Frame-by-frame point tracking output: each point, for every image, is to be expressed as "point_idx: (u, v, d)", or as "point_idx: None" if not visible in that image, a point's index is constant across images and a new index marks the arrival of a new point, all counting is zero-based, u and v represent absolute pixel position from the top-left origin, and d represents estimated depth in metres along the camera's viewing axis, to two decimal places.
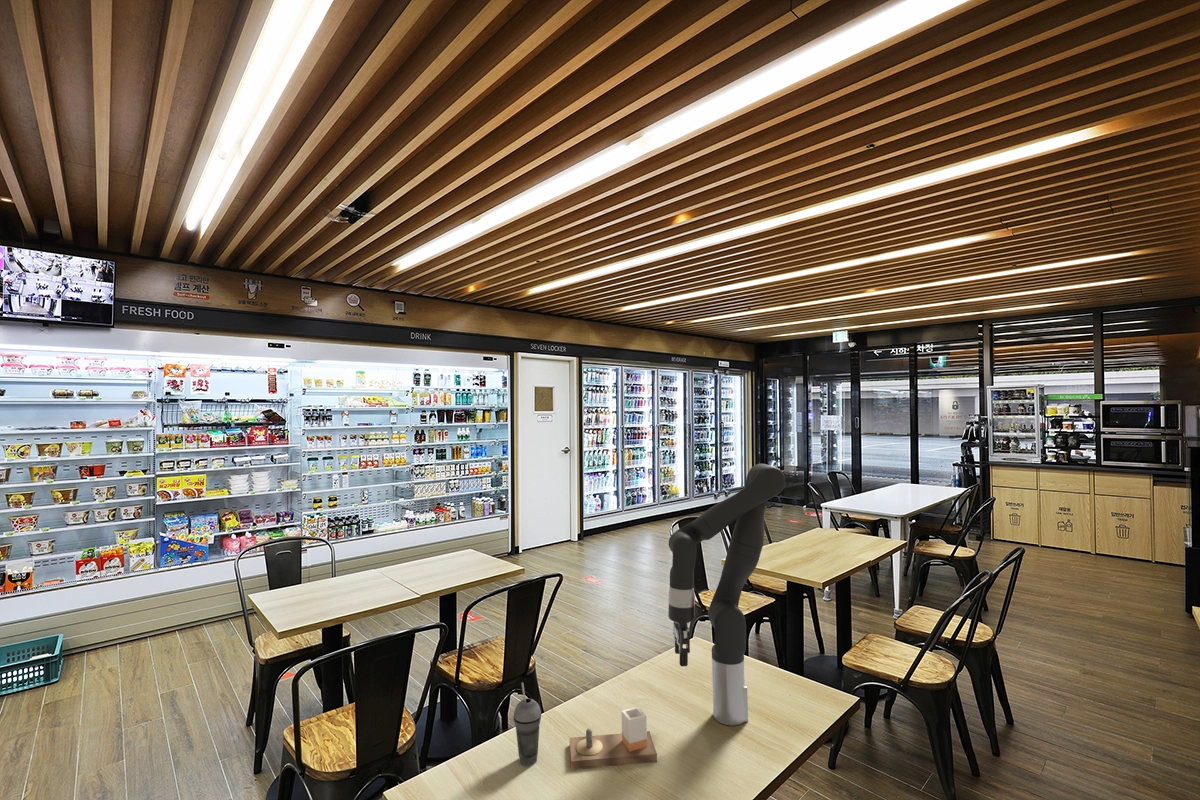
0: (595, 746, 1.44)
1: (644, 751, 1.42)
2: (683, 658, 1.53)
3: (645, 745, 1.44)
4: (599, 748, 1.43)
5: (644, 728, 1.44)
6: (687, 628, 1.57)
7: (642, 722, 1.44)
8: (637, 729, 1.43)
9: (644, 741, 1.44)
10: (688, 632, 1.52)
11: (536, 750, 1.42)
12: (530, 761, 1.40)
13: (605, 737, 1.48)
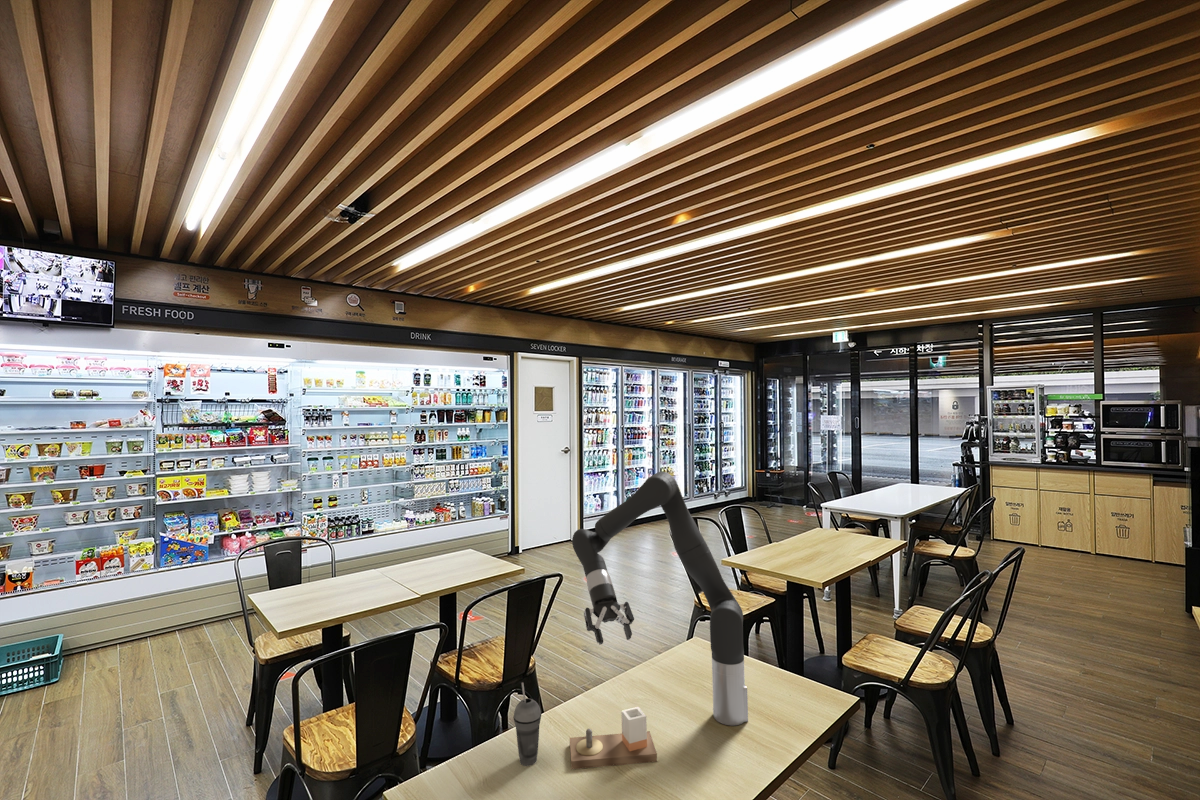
0: (595, 746, 1.44)
1: (644, 751, 1.42)
2: (595, 635, 1.56)
3: (645, 745, 1.44)
4: (599, 748, 1.43)
5: (644, 728, 1.44)
6: (602, 608, 1.61)
7: (642, 722, 1.44)
8: (637, 729, 1.43)
9: (644, 741, 1.44)
10: (585, 609, 1.60)
11: (536, 750, 1.42)
12: (530, 761, 1.40)
13: (605, 737, 1.48)
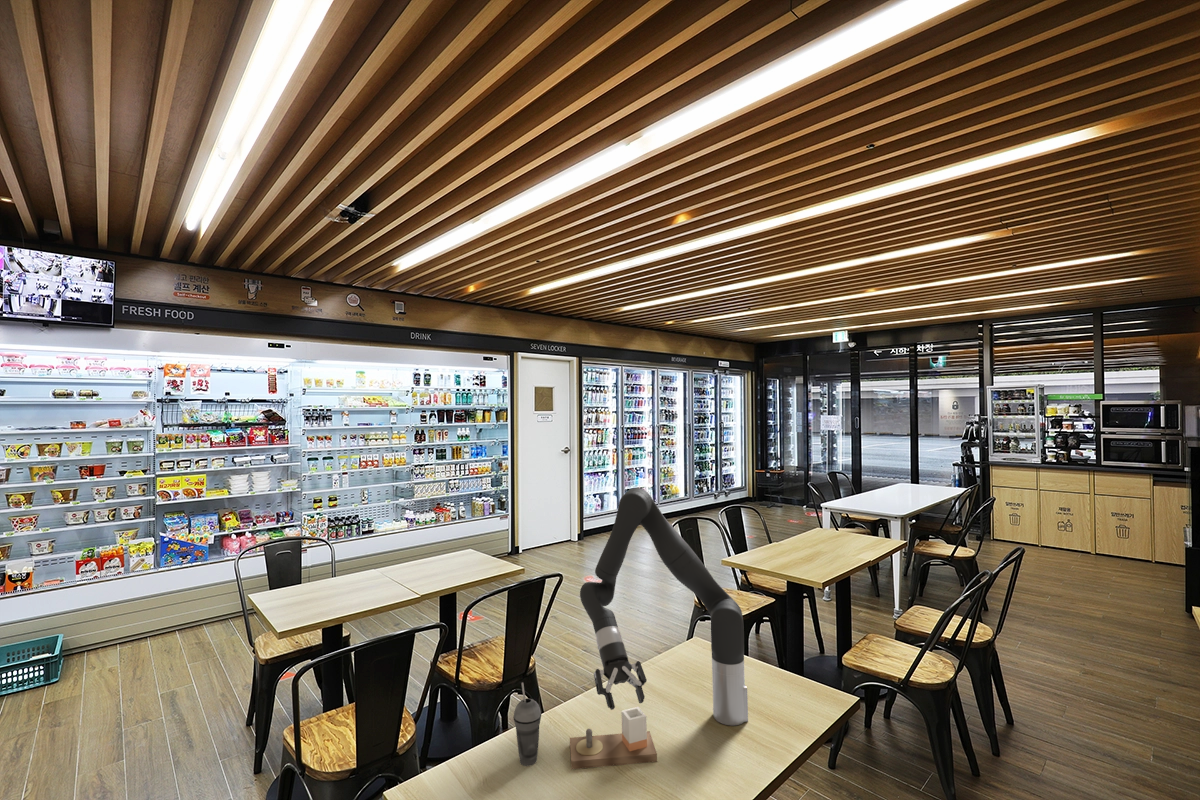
0: (595, 746, 1.44)
1: (644, 751, 1.42)
2: (606, 700, 1.49)
3: (645, 745, 1.44)
4: (599, 748, 1.43)
5: (644, 728, 1.44)
6: (613, 669, 1.54)
7: (642, 722, 1.44)
8: (637, 729, 1.43)
9: (644, 741, 1.44)
10: None
11: (536, 750, 1.42)
12: (530, 761, 1.40)
13: (605, 737, 1.48)
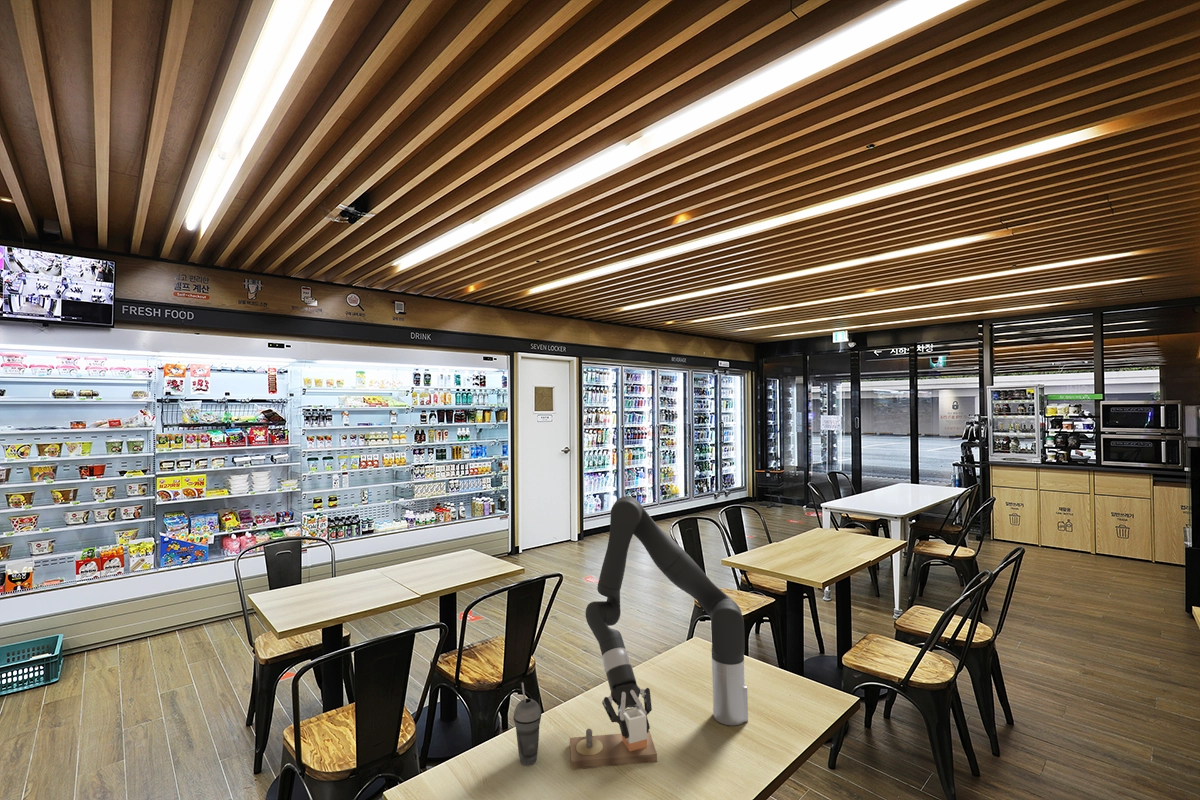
0: (595, 746, 1.44)
1: (644, 751, 1.42)
2: (620, 728, 1.44)
3: (645, 745, 1.44)
4: (599, 748, 1.43)
5: (644, 728, 1.44)
6: (621, 694, 1.49)
7: (642, 722, 1.44)
8: (637, 729, 1.43)
9: (644, 741, 1.44)
10: (604, 699, 1.47)
11: (536, 750, 1.42)
12: (530, 761, 1.40)
13: (605, 737, 1.48)
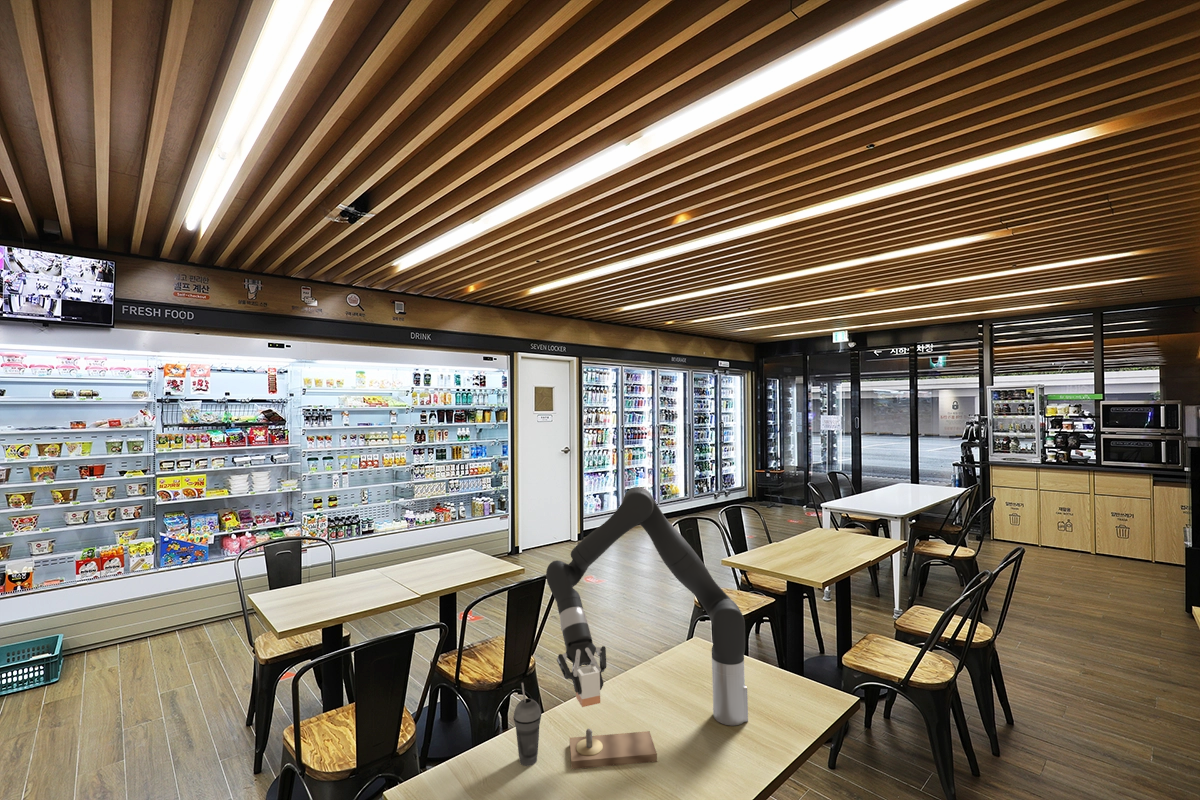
0: (595, 746, 1.44)
1: (644, 751, 1.42)
2: (574, 684, 1.43)
3: (598, 701, 1.43)
4: (599, 748, 1.43)
5: (597, 684, 1.43)
6: (575, 651, 1.48)
7: (595, 678, 1.43)
8: (590, 685, 1.42)
9: (597, 697, 1.43)
10: (558, 656, 1.46)
11: (536, 750, 1.42)
12: (530, 761, 1.40)
13: (605, 737, 1.48)
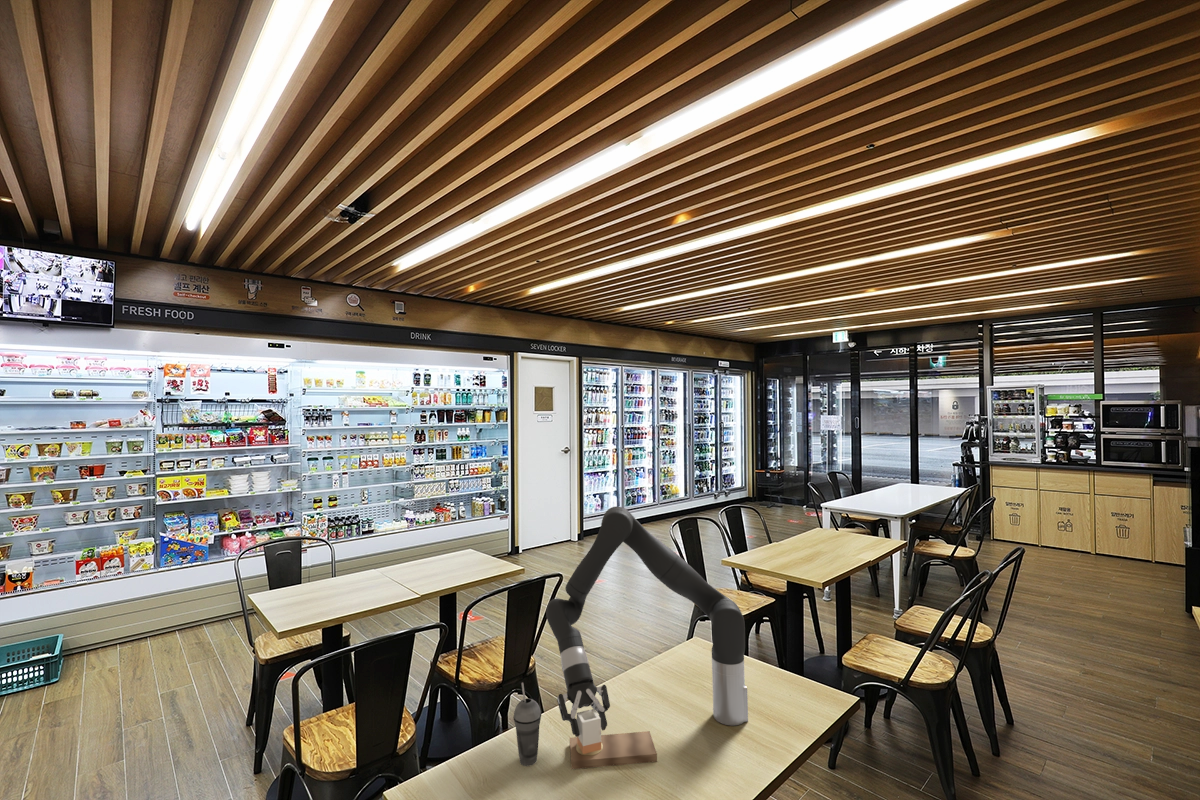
0: None
1: (644, 751, 1.42)
2: (571, 726, 1.43)
3: (599, 748, 1.43)
4: None
5: (598, 731, 1.43)
6: (577, 692, 1.48)
7: (596, 725, 1.42)
8: (591, 732, 1.42)
9: (598, 744, 1.43)
10: (558, 696, 1.47)
11: (536, 750, 1.42)
12: (530, 761, 1.40)
13: (605, 737, 1.48)
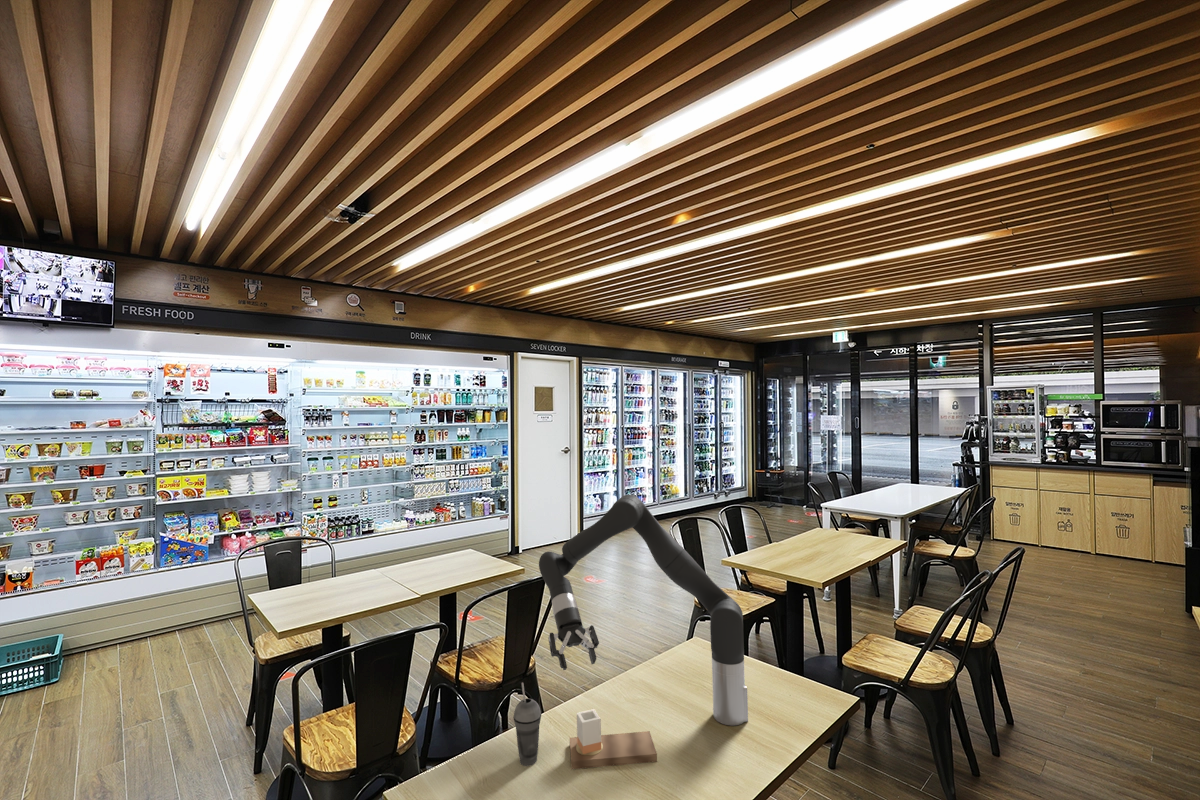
0: None
1: (644, 751, 1.42)
2: (559, 661, 1.56)
3: (599, 748, 1.43)
4: None
5: (598, 731, 1.43)
6: (567, 632, 1.61)
7: (596, 725, 1.42)
8: (591, 732, 1.42)
9: (598, 744, 1.43)
10: None
11: (536, 750, 1.42)
12: (530, 761, 1.40)
13: (605, 737, 1.48)
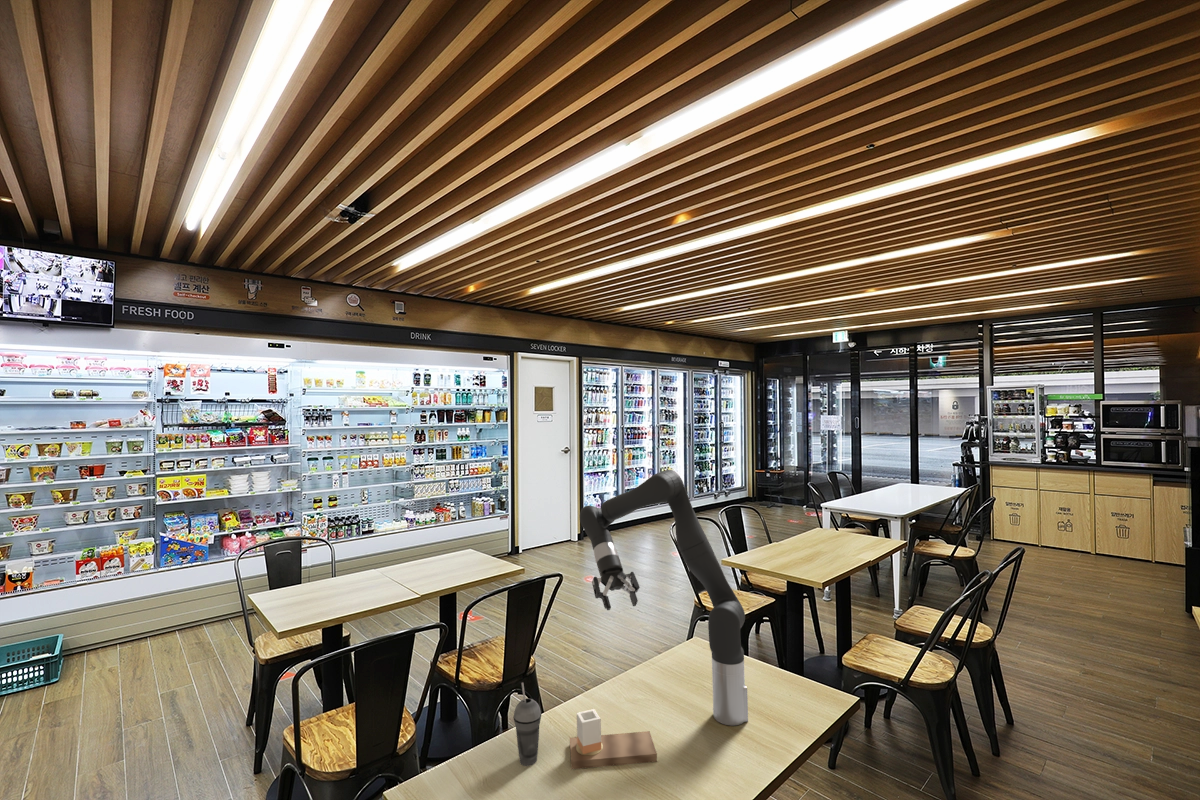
0: None
1: (644, 751, 1.42)
2: (603, 602, 1.66)
3: (599, 748, 1.43)
4: None
5: (598, 731, 1.43)
6: (609, 577, 1.71)
7: (596, 725, 1.42)
8: (591, 732, 1.42)
9: (598, 744, 1.43)
10: (593, 578, 1.70)
11: (536, 750, 1.42)
12: (530, 761, 1.40)
13: (605, 737, 1.48)
